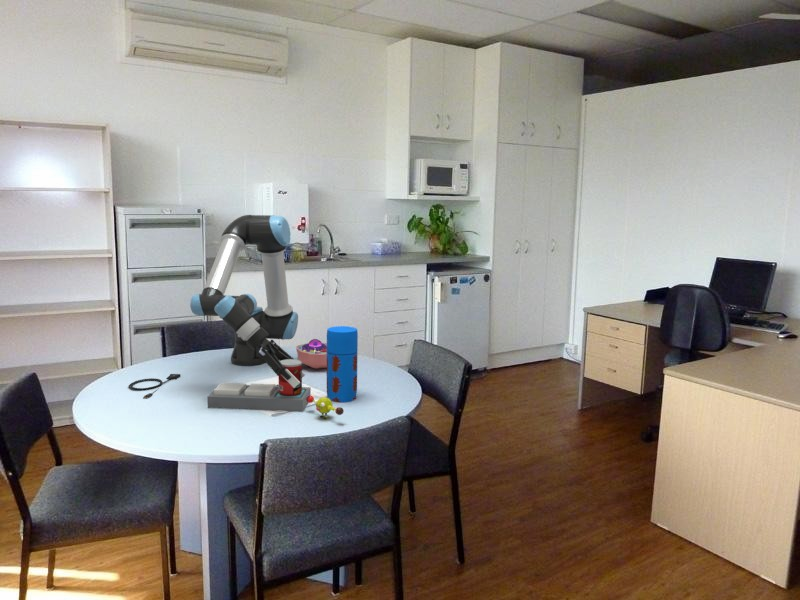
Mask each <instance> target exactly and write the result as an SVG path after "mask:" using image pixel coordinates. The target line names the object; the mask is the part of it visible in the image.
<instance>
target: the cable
mask: <svg viewBox="0 0 800 600" xmlns="http://www.w3.org/2000/svg"><path fill="white" fill-rule="evenodd" d="M181 375H182V374H180V373H170V374H169V376H167V377H166V378H165V379H166V380H165V381H163V380H162V379H159V378H153V377H152V378H150V377H149V378H142V379H138V380H135V381H133V382H131V383H129V385H128V388H129V389H130V390H132V391H137V392H140V391H142V392H143V391H150V390H155V391H152V392H151V393H147V394H145V395H144V396H143V397H142V399H144V400H146V399H147V400H148V399H150V398H151V397H152V396H153V395H154V394H155V393H156V392H157V391H158V390H160V387H162V385H163V384H165V383H168V382H169V381H174V380H175V381H176V380H178V379H179V378H181V377H182V376H181ZM177 378H178V379H177ZM144 382H156V383H157V382H158V384H156V385H154V386H149V387H135V385H137V384H140V383H144ZM159 382H160V383H159Z"/></svg>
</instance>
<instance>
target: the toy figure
mask: <svg viewBox="0 0 800 600" xmlns="http://www.w3.org/2000/svg"><path fill="white" fill-rule="evenodd" d="M306 400H307V402H308V404H309V403H310V404H311V403H314V404H315V407H316V408H315V410H316V411H318V412H319V413H320V414H321V415H320V416H319V417H320V418H322V419H328V413H329V412H330V411H333V412H334V411H335V413H336V415H337V416H341V415H343V414H344V409H343V407H340V406H339V407H334V406H333V401H331V400H330V399H329V398H327V396H322V397H320V398H318V399H315V397H314V395H313V396H312V394H311V395H310V396H308V397H307V398H306Z"/></svg>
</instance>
